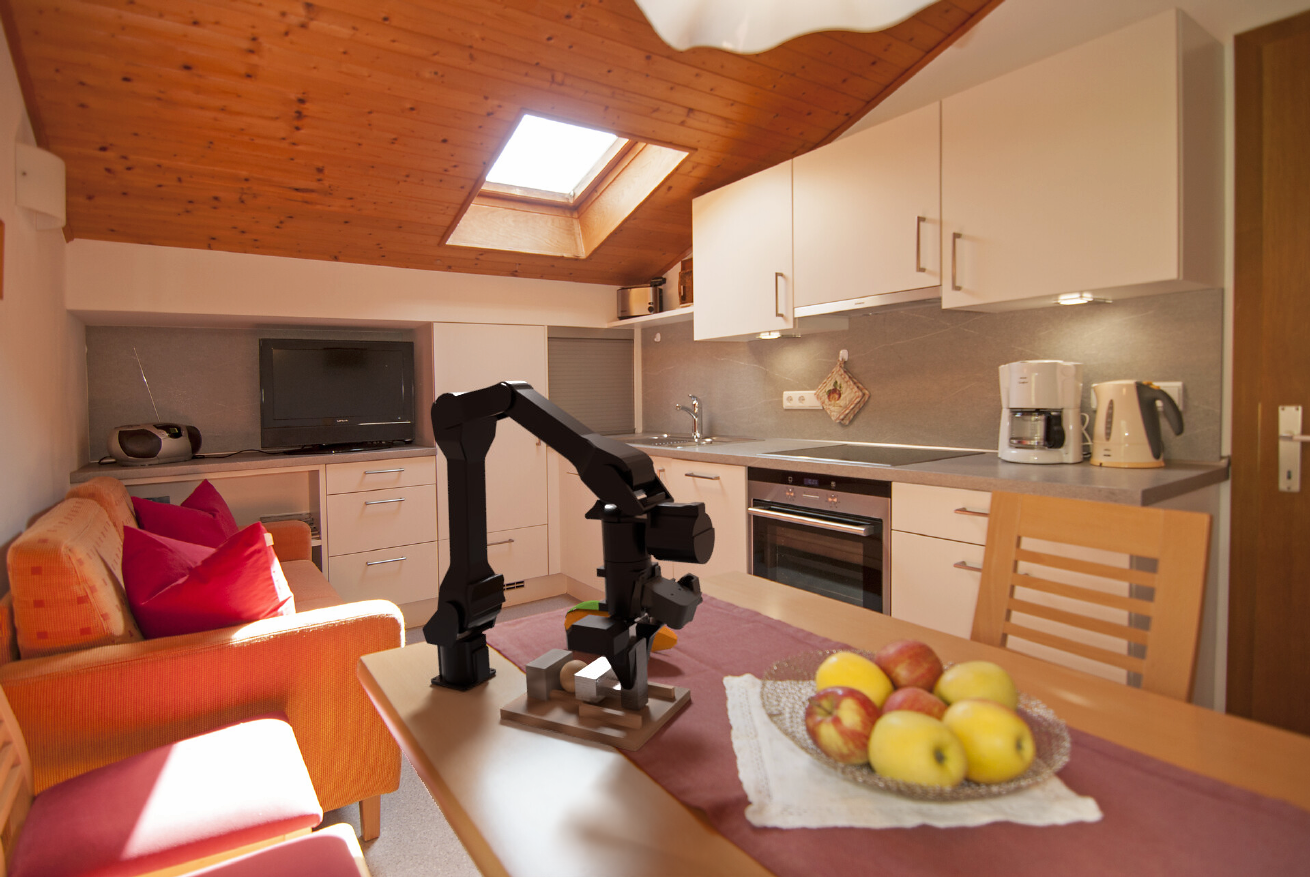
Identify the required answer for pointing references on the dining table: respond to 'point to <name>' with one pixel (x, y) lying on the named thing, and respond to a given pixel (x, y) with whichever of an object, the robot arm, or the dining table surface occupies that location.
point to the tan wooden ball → (570, 674)
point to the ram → (614, 682)
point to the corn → (662, 638)
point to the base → (589, 707)
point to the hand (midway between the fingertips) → (633, 684)
